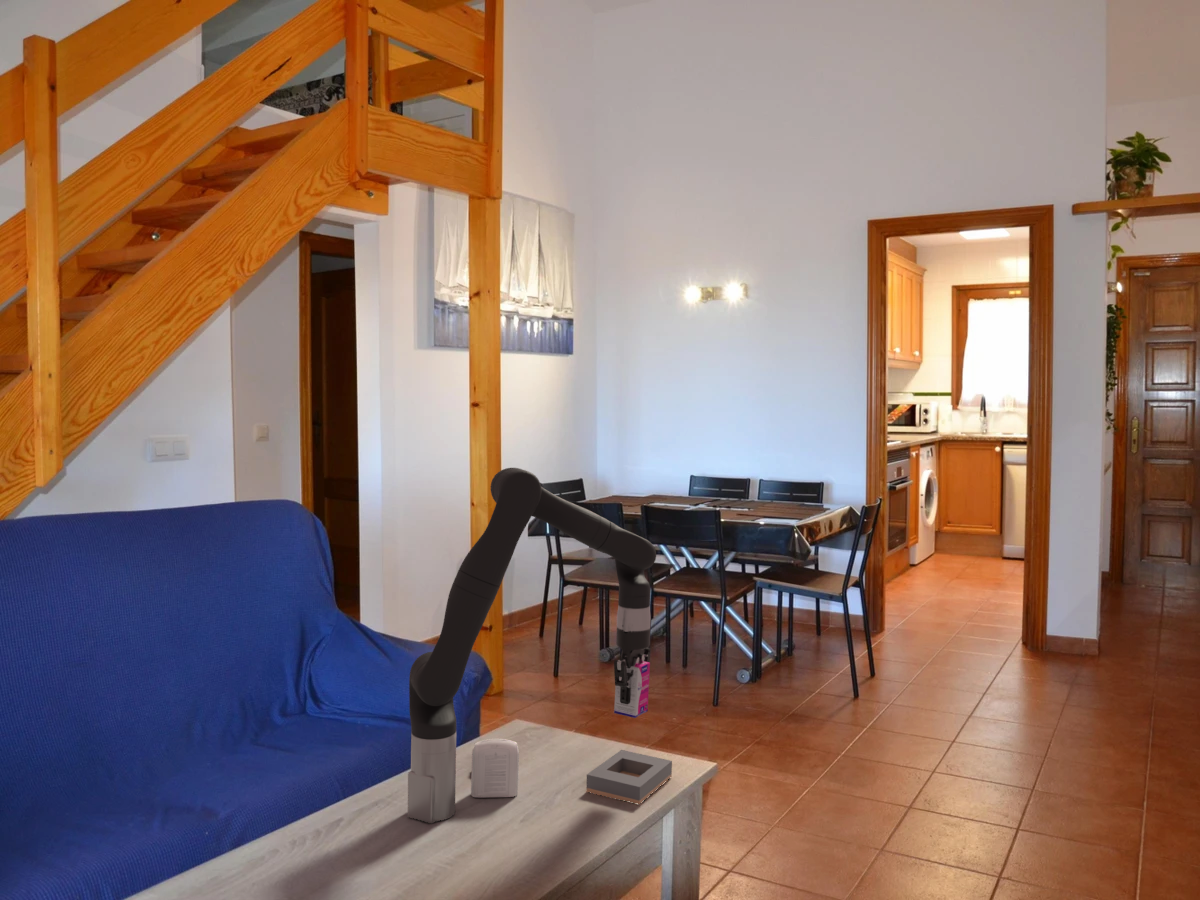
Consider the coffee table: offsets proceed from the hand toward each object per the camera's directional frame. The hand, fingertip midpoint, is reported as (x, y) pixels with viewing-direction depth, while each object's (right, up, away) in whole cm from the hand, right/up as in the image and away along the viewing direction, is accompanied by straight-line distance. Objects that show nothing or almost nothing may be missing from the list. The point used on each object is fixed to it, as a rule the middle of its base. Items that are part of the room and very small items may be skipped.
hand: (631, 699), depth 218 cm
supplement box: (0, -3, 0) cm, 3 cm away
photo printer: (-30, -20, -5) cm, 36 cm away
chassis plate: (0, -20, +1) cm, 20 cm away
